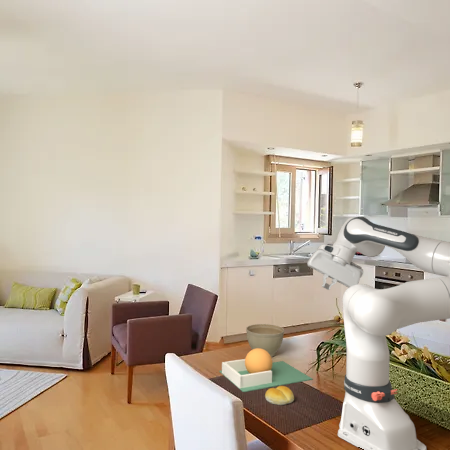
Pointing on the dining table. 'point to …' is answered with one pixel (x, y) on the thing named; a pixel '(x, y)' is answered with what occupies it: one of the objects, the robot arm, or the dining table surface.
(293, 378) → the putting mat
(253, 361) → the ball
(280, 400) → the bread roll
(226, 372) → the white open box
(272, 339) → the planter bowl
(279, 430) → the dining table surface
